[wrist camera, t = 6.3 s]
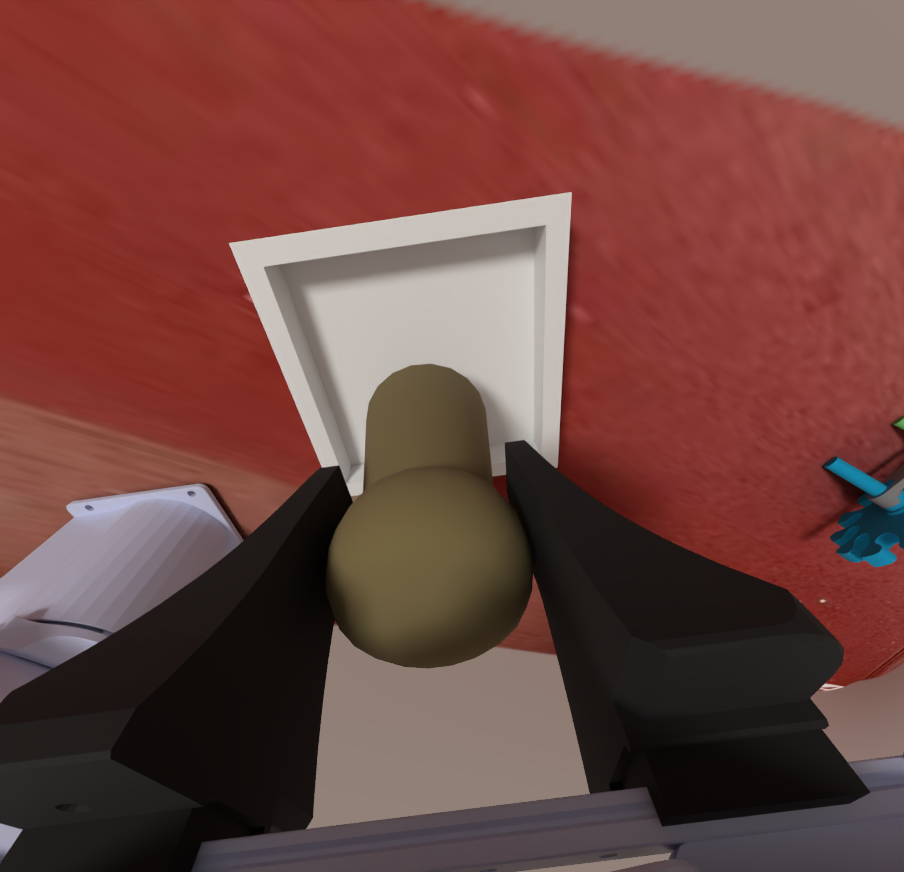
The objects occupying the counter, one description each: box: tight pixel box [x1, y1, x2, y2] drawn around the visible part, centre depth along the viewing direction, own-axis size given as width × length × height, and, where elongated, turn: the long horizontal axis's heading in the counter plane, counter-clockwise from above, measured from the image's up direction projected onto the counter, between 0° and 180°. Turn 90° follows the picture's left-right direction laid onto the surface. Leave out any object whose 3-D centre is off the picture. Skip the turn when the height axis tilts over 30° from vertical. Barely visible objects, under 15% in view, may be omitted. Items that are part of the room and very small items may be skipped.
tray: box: [229, 192, 572, 496], centre depth 19 cm, size 14×14×2 cm
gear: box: [824, 416, 904, 567], centre depth 24 cm, size 11×6×10 cm
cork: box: [326, 364, 533, 668], centre depth 12 cm, size 6×6×11 cm
